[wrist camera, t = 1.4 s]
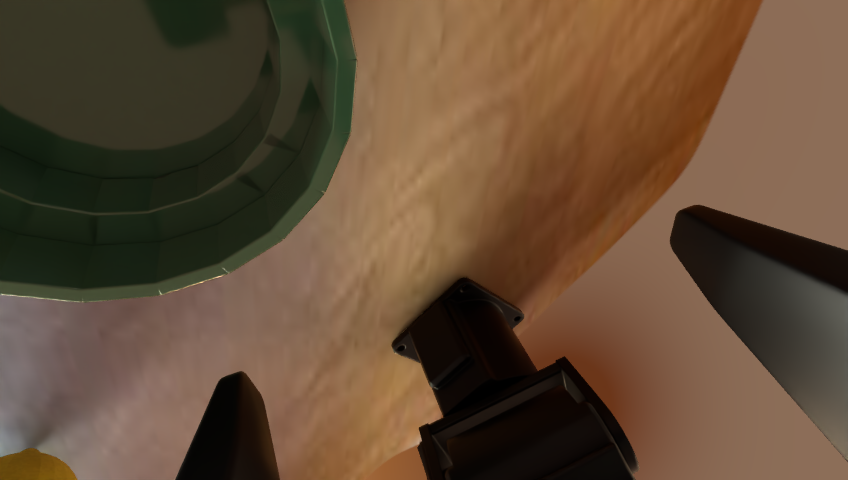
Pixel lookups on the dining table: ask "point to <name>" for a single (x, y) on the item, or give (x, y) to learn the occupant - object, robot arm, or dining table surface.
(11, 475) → the lemon
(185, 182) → the bowl
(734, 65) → the dining table surface
